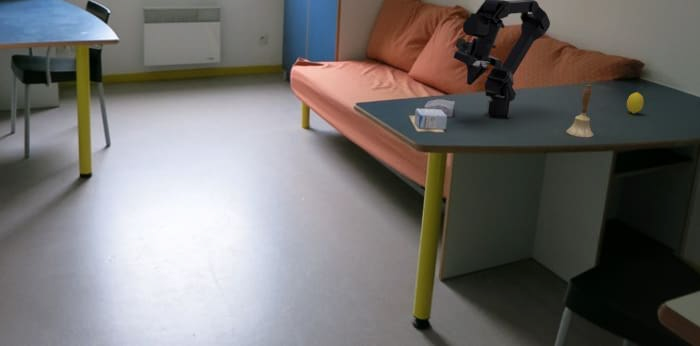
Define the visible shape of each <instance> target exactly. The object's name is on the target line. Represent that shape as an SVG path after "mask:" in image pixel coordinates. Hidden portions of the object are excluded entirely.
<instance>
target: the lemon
mask: <svg viewBox="0 0 700 346" xmlns="http://www.w3.org/2000/svg"><path fill="white" fill-rule="evenodd" d="M644 102H645V101H644V96H643V95H642V94H640V92H638V91H637V92H633V93H632V94H630V95H629V96H628V99H627V101H626V107H627V109H628V111H629V112H631V114H632V115H634V114H636V113H638V112H640V111H641V110H642V109H643V107H644Z"/></svg>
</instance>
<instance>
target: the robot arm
mask: <svg viewBox="0 0 700 346" xmlns="http://www.w3.org/2000/svg"><path fill="white" fill-rule="evenodd" d="M511 14H520V20H521V22H522V23H521V25H520V28H521V33H520V35H519V37H518V39H517V40H516V41H515V43H514V44H513V47H512V48H511V50H510V51H509V53H508V55H507V56H506V58H505V60H504V61H503V63H502V60H501V59H499V58H497V57H495V56H493V55H491V52H492V50H493V49H496V47H497V45H495V43H496V40H497V37H498V34H499V32H500V30H501V29H504V28H505V24H504V21H503V19H505V18H507V17H509V15H511ZM550 25H551V21H550V19H549V16H548V14H547V12H546V11H545V10H543V9H542V7H541V6H540V5H539V2H538V1H536V0H484V1H483V2H482V4H481V5H480V7H479V8H478V9H477V11H476V12H475V13H474V12H472V13H471V14H470V16H469V17H468V18H466V19H465V20H464V21H463V24H462V31H463V33H464V34H465V35H467V36H471V37H474V38H473V39H472V40H471V41H466V39H465V38H458V39H457V41H456V43H455V48H456V49H457V50H456V51H454V53H453V56H452V58H453V59H455V60H457V61H460V62H462V63H463V64H465V65H466V69H467V74H466V77H467V78H466V85H468V86H471V85H472V84H473V83H475V82H476V81H477V80H478V78H479V77H481V76H482V75H483V74H484V73H486V72H487V71H489V69H490V67H488V65H490V66H492V67H493V68H492V69H491V71H490V73H488V75H487V76H486V80H485V82H484V91H485V96H486V97H489V100H487V103H486V110H485V111H486V112H485V113H486V115H487V116H489V117H490V118H495V119H496V118H497V119H498V118H499V119H510V116H509V109H510V105H511V104H510V102H513V101H514V100H515V98H516V96H517V95H516V94H517V93H516V91H515V90H514V88H513V86H514V75H515V73H516V71H517V70H518V68H519V67H520V65H521V63H522V62H523V60H524V59H525V57H526V55H527V53H528V52H529V50H530V48H531V47H532V45H533V44H534V42H535V41H537V40H539V39H540V38H542V37H543V36H544V35H545V33H546V32H548V30H549V28H550Z"/></svg>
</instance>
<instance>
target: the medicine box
mask: <svg viewBox="0 0 700 346" xmlns="http://www.w3.org/2000/svg"><path fill="white" fill-rule="evenodd" d="M414 116H415V120H414V121H415V123H416V125H417V126H418V128H424V129H443V130H446V129H447V121H448V117H447V116H446V115H445V113H444V112H443V111H442V110H440V109H425V108H415V112H414Z"/></svg>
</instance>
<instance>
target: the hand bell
mask: <svg viewBox="0 0 700 346" xmlns="http://www.w3.org/2000/svg"><path fill="white" fill-rule="evenodd" d="M592 94H593V93H592V85H591V84H586V85H585V88H584V90H583V92H582V99H581V100H582V107H581V111H580V114H579V115H577V116H575V118H574V121H573V122H572V125H571V126H570V127H569V128H568V129H566V131H565V132H566V134H568V135H571V136H573V137H577V138H589V139H590V138H592V137H594V133H593V132H592V131H591V127H590V126H591V124H590V122H591V118H590V117H589V116H587V112H588V106H589V103H590V101H591V98H592Z"/></svg>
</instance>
